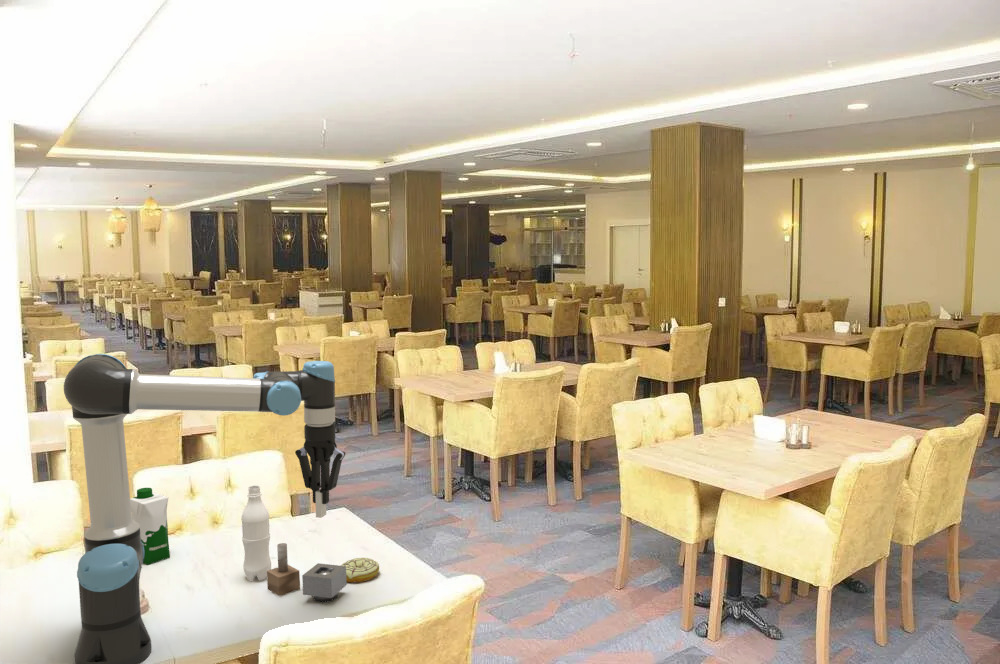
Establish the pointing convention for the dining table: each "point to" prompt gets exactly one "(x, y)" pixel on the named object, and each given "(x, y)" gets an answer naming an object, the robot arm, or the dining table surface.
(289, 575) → the stand
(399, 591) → the dining table surface
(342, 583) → the square steel tube
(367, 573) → the decorated donut
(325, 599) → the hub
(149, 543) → the milk carton
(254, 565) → the water bottle
